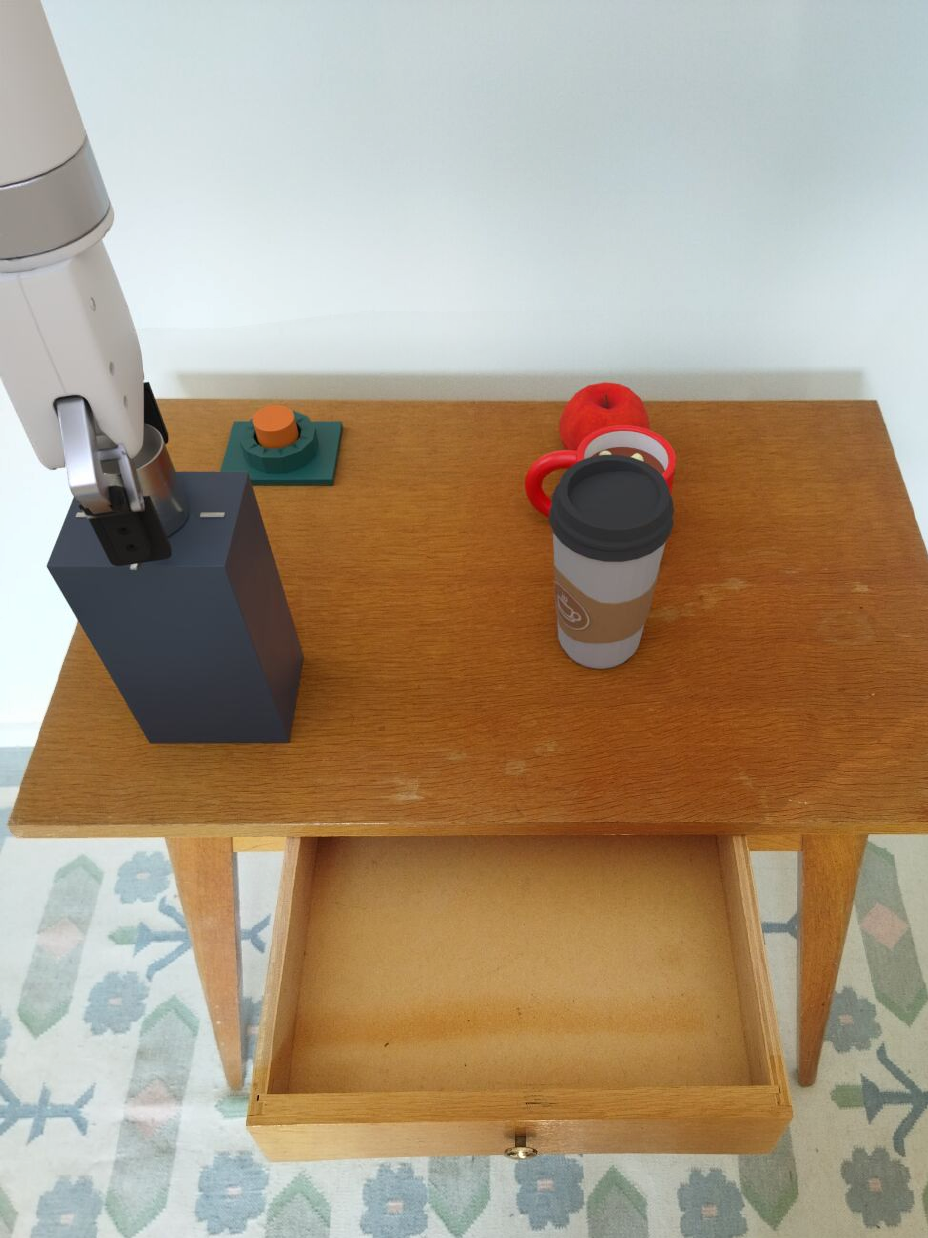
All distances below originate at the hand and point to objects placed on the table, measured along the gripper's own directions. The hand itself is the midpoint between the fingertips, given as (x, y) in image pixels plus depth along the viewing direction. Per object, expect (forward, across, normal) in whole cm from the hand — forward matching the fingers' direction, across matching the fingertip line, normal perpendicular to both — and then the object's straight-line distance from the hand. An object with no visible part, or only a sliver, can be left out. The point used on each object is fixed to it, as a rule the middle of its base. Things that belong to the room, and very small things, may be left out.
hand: (142, 499), depth 54 cm
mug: (+20, -11, +31) cm, 39 cm away
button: (+17, -27, +6) cm, 32 cm away
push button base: (+19, -27, +6) cm, 33 cm away
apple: (+20, -19, +34) cm, 44 cm away
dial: (+1, 0, 0) cm, 1 cm away
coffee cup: (+20, +1, +28) cm, 34 cm away
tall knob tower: (+19, 0, 0) cm, 19 cm away
